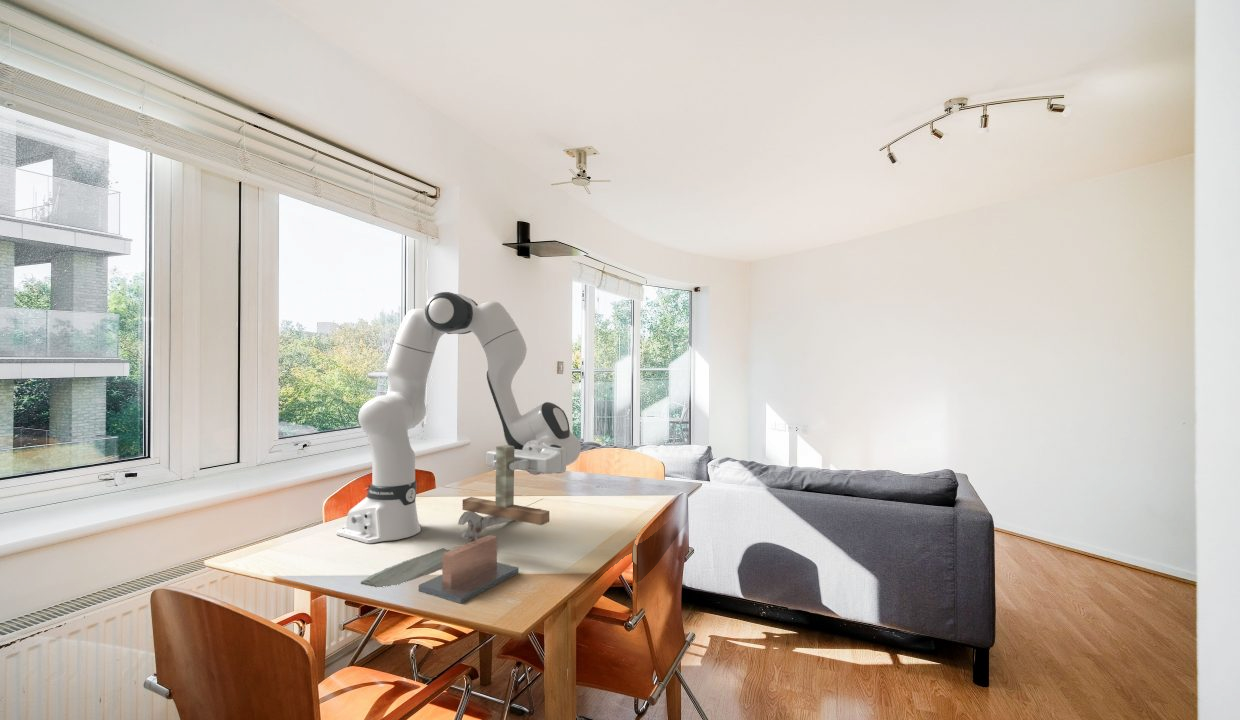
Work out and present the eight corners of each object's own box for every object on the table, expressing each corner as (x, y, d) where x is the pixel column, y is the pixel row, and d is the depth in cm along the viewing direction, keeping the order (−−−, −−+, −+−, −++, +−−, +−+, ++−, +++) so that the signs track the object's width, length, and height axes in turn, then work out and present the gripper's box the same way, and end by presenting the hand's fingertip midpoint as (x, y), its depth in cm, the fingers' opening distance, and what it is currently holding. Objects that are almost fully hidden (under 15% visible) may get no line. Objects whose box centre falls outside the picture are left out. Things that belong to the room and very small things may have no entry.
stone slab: (465, 565, 132) (437, 552, 137) (466, 554, 132) (438, 542, 137) (386, 601, 113) (356, 585, 118) (387, 588, 113) (357, 573, 117)
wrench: (523, 526, 167) (461, 545, 140) (518, 525, 168) (455, 544, 141) (525, 500, 168) (464, 513, 141) (520, 499, 169) (458, 512, 141)
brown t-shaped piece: (462, 509, 133) (463, 442, 133) (471, 506, 135) (472, 441, 135) (541, 525, 121) (542, 452, 121) (549, 521, 124) (550, 450, 124)
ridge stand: (418, 590, 113) (419, 552, 113) (479, 562, 129) (479, 529, 129) (460, 603, 108) (460, 563, 108) (518, 572, 123) (518, 537, 123)
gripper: (507, 441, 145) (469, 448, 132) (570, 448, 135) (536, 456, 123) (506, 464, 145) (469, 474, 132) (570, 473, 135) (536, 484, 123)
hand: (502, 465), depth 127 cm, fingers closed on brown t-shaped piece, 3 cm apart
